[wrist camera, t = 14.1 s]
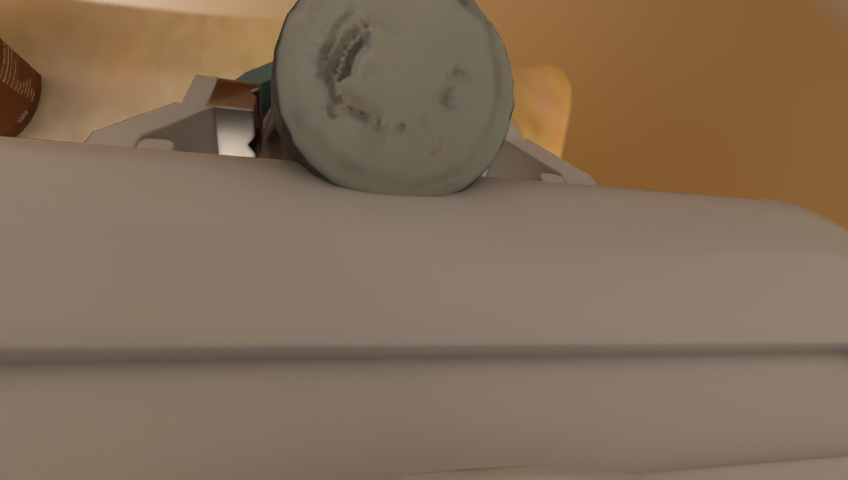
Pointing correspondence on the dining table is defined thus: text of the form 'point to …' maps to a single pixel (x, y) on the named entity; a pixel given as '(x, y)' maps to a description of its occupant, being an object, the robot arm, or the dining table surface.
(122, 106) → the dining table surface
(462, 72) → the sauce bottle
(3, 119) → the food container
